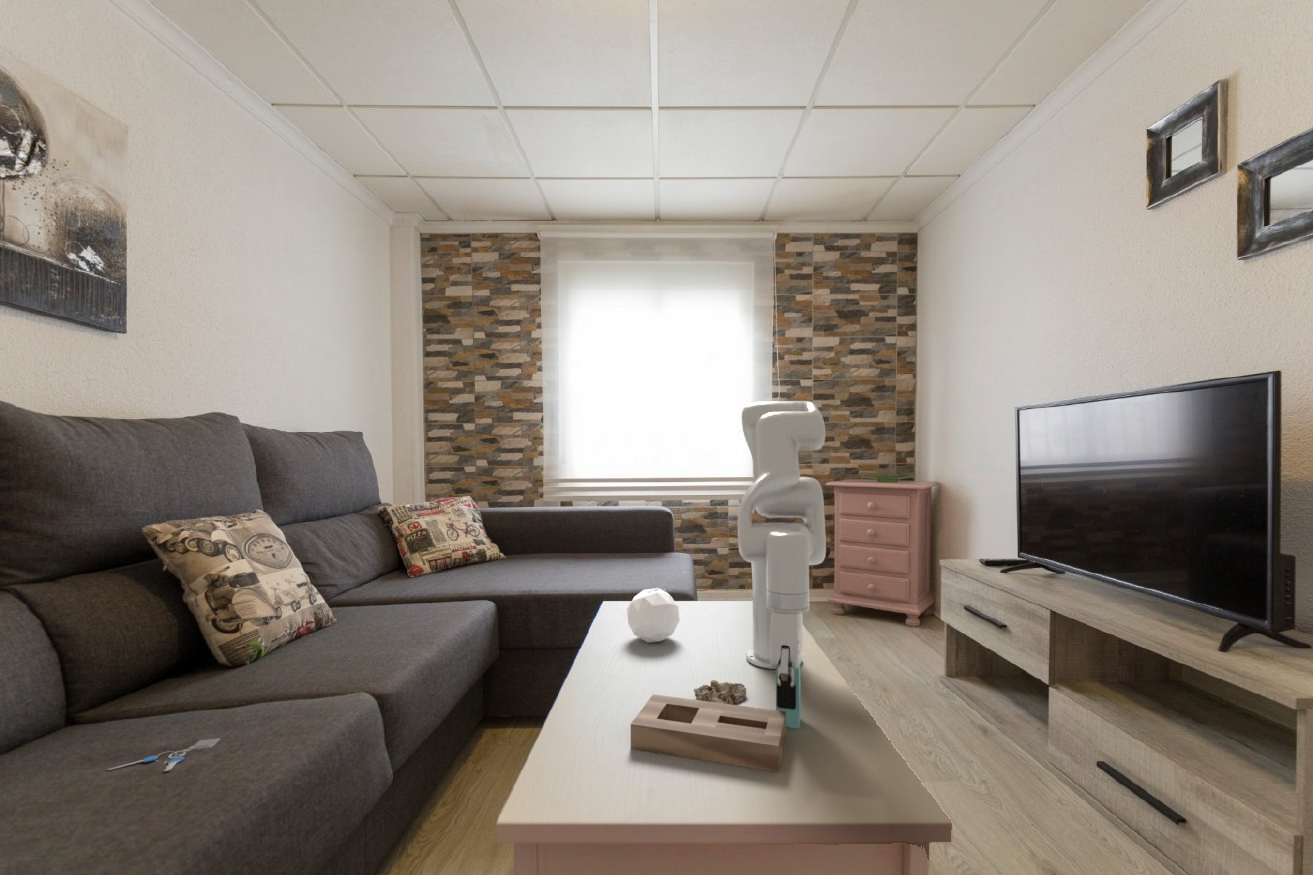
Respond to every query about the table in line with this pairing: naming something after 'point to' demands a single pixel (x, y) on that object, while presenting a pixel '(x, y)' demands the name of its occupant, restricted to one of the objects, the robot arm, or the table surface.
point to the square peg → (795, 715)
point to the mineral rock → (721, 692)
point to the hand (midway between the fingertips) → (788, 698)
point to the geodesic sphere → (653, 615)
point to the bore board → (711, 732)
